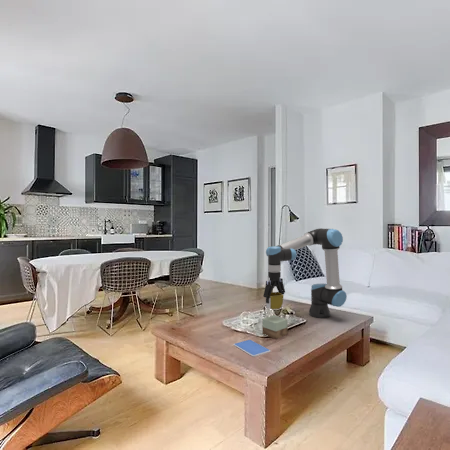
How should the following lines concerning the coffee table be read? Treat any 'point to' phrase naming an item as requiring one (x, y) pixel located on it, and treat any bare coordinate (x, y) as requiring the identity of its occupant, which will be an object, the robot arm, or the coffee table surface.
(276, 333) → the bottom block
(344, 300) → the robot arm
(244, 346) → the tablet computer
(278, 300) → the flower pot
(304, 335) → the coffee table surface
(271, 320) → the top block
